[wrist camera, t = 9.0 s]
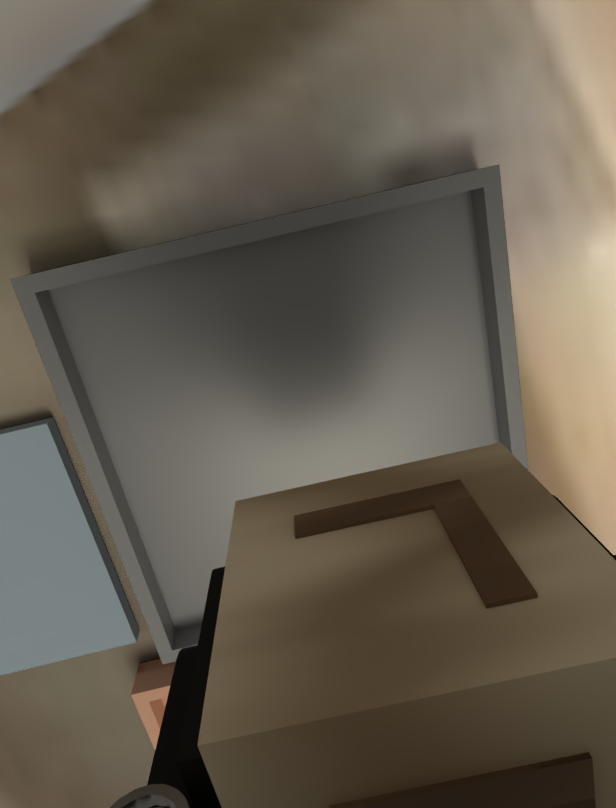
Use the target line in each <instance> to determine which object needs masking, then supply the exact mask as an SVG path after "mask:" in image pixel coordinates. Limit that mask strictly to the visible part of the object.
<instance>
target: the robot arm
mask: <svg viewBox="0 0 616 808" xmlns="http://www.w3.org/2000/svg"><path fill="white" fill-rule="evenodd" d="M552 496H553V497H554V498H555V499H556V500H557V501H558V502H559V503H560V504H561V505H562V506H563V507H564V508H565V509H566V510H567V511H568V512H569V513H570V514H571V515H572V516H573V517H574V518H575V519H576V520H577V521H578V522H579V523H580V524H581V525H582V526H583V527H584V528H585V529H586V531H587V532H588V533H589V534H590V535H591V536H592V537H593V538H594V539H595V540H596V541H597V542H598V543H599V544H600V545H601V546H602V547H603V548H604V549H605V550H606V551H607V552H608V553H609V554H610V555H611V556H612V557H613V558H614V559H615V560H616V555H613V554H612V553H611V552H610V551H609V550H608V549H607V548H606V547H605V546H604V545H603V544H602V543H601V542H600V541H599V540H598V539H597V538H596V537H595V536H594V535H593V534H592V533H591V532H590V531H589V530H588V529H587V528H586V527H585V526H584V525H583V524H582V523H581V522H580V521H579V520H578V519H577V518H576V517H575V516H574V515H573V514H572V513H571V512H570V511H569V510H568V509H567V507H566V506H565V505H564V504H563V503H562V502H561V501H560V500H559V499H558V498H557V497H555V496H554V495H552ZM224 571H225V567H220V568H216V569H213V570H212V573H211V578H210V583H209V588H208V594H207V599H206V604H205V610H204V615H203V620H202V625H201V631H200V636H199V641H198V645H196V646H191V647H186V648H182V649H181V650H180V651H179V653H178V656H177V659H176V663H175V668H174V672H173V676H172V681H171V685H170V689H169V694H168V698H167V702H166V707H165V711H164V715H163V720H162V724H161V728H160V732H159V737H158V741H157V745H156V750H155V754H154V758H153V763H152V767H151V771H150V776H149V780H148V784H147V786H144V787H140V788H137V789H135V790H133V791H131V792H130V793H128V794H126V795H125V796H123V797H121V798H120V799H118V800H117V801H116V802H115V803H114V804H113V805H112V806H111V807H110V808H222V807H221V805H220V802H219V799H218V797H217V794H216V792H215V789H214V787H213V784H212V782H211V779H210V776H209V774H208V771H207V769H206V766H205V764H204V761H203V758H202V756H201V753H200V751H199V748H198V746H197V745H198V738H199V732H200V726H201V719H202V713H203V706H204V700H205V693H206V687H207V681H208V674H209V668H210V661H211V655H212V648H213V642H214V636H215V629H216V623H217V616H218V610H219V603H220V597H221V591H222V584H223V578H224Z"/></svg>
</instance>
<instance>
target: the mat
mask: <svg viewBox="0 0 616 808" xmlns="http://www.w3.org/2000/svg"><path fill="white" fill-rule="evenodd" d="M139 632H140V630H139V628H138V625H137V623H136V621H135V618H134V616H133V613H132V611H131V608H130V606H129V603H128V601H127V598H126V596H125V593H124V591H123V588H122V586H121V583H120V581H119V578H118V576H117V573H116V571H115V569H114V566H113V564H112V561H111V559H110V556H109V554H108V551H107V549H106V546H105V544H104V541H103V539H102V536H101V534H100V531H99V529H98V526H97V524H96V521H95V519H94V517H93V514H92V512H91V509H90V507H89V504H88V502H87V499H86V497H85V494H84V492H83V489H82V487H81V484H80V482H79V479H78V477H77V474H76V472H75V469H74V467H73V465H72V462H71V460H70V457H69V455H68V452H67V450H66V447H65V445H64V442H63V440H62V437H61V435H60V432H59V430H58V427H57V425H56V422H55V420H54V417H51V418H47V419H43V420H39V421H35V422H30V423H26V424H22V425H18V426H14V427H9V428H5V429H1V430H0V675H4V674H8V673H12V672H16V671H20V670H24V669H29V668H33V667H37V666H41V665H45V664H49V663H53V662H57V661H61V660H66V659H70V658H74V657H78V656H82V655H86V654H90V653H94V652H98V651H103V650H107V649H111V648H115V647H119V646H123V645H127V644H131V643H135V642H137V639H138V635H139Z"/></svg>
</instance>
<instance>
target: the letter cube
mask: <svg viewBox="0 0 616 808" xmlns="http://www.w3.org/2000/svg"><path fill="white" fill-rule="evenodd" d="M197 746H198V748H199V751H200V753H201V756H202V758H203V761H204V764H205V766H206V769H207V771H208V774H209V776H210V779H211V782H212V784H213V787H214V789H215V792H216V794H217V797H218V799H219V802H220V805H221V807H222V808H616V560H615V559H614V558H613V557H612V556H611V555H610V554H609V553H608V552H607V551H606V550H605V549H604V548H603V547H602V546H601V545H600V544H599V543H598V542H597V541H596V540H595V539H594V538H593V537H592V536H591V535H590V534H589V533H588V532H587V531H586V529H585V528H584V527H583V526H582V525H581V524H580V523H579V522H578V521H577V520H576V519H575V518H574V517H573V516H572V515H571V514H570V513H569V512H568V511H567V510H566V509H565V508H564V507H563V506H562V505H561V504H560V503H559V502H558V501H557V500H556V499H555V498H554V497H553V496H552V494H551V493H550V492H549V491H548V490H547V489H546V488H545V487H544V486H543V485H542V484H541V483H540V482H539V481H538V480H537V479H536V478H535V477H534V476H533V475H532V474H531V473H530V472H529V471H528V470H527V469H526V468H525V467H524V466H523V465H522V464H521V463H520V462H519V460H518V459H517V458H516V457H515V456H514V455H513V454H512V453H511V452H510V451H509V450H508V449H507V448H506V447H505V446H504V445H503V444H502V443H501V442H500V443H495V444H491V445H486V446H482V447H477V448H473V449H468V450H464V451H459V452H455V453H450V454H446V455H441V456H437V457H432V458H428V459H423V460H419V461H414V462H410V463H405V464H401V465H396V466H392V467H387V468H382V469H378V470H373V471H369V472H364V473H360V474H355V475H351V476H346V477H342V478H337V479H333V480H328V481H324V482H319V483H315V484H310V485H306V486H301V487H297V488H292V489H288V490H283V491H279V492H274V493H270V494H265V495H261V496H256V497H252V498H247V499H243V500H238V501H235V507H234V513H233V520H232V526H231V533H230V539H229V546H228V552H227V558H226V565H225V571H224V578H223V584H222V591H221V597H220V603H219V610H218V616H217V623H216V629H215V636H214V642H213V648H212V655H211V661H210V668H209V674H208V681H207V687H206V693H205V700H204V706H203V713H202V719H201V726H200V732H199V738H198V745H197Z"/></svg>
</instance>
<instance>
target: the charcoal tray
mask: <svg viewBox="0 0 616 808" xmlns="http://www.w3.org/2000/svg"><path fill="white" fill-rule="evenodd" d="M10 280H11V283H12V285H13V288H14V290H15V293H16V295H17V298H18V300H19V303H20V305H21V308H22V310H23V313H24V315H25V318H26V320H27V323H28V325H29V328H30V331H31V333H32V336H33V338H34V341H35V343H36V346H37V348H38V351H39V353H40V356H41V358H42V361H43V363H44V366H45V368H46V371H47V373H48V376H49V378H50V381H51V384H52V386H53V389H54V391H55V394H56V396H57V399H58V401H59V404H60V406H61V409H62V411H63V414H64V416H65V419H66V421H67V424H68V426H69V429H70V431H71V434H72V437H73V439H74V442H75V444H76V447H77V449H78V452H79V454H80V457H81V459H82V462H83V464H84V467H85V469H86V472H87V474H88V477H89V479H90V482H91V484H92V487H93V490H94V492H95V495H96V497H97V500H98V502H99V505H100V507H101V510H102V512H103V515H104V517H105V520H106V522H107V525H108V527H109V530H110V532H111V535H112V537H113V540H114V542H115V545H116V548H117V550H118V553H119V555H120V558H121V560H122V563H123V565H124V568H125V570H126V573H127V575H128V578H129V580H130V583H131V585H132V588H133V590H134V593H135V595H136V598H137V601H138V603H139V606H140V608H141V611H142V613H143V616H144V618H145V621H146V623H147V626H148V628H149V631H150V633H151V636H152V638H153V641H154V643H155V646H156V648H157V651H158V654H159V656H160V659H161V661H162V664H167V663H171V662H175V661H176V659H177V656H178V653H179V651H180V650H181V649H182V648H186V647H191V646H196V645H198V641H199V636H200V631H201V625H202V620H203V615H204V610H205V604H206V599H207V594H208V588H209V583H210V578H211V573H212V570H213V569H216V568H220V567H225V565H226V558H227V552H228V546H229V539H230V533H231V526H232V520H233V513H234V507H235V501H238V500H243V499H247V498H252V497H256V496H261V495H265V494H270V493H274V492H279V491H283V490H288V489H292V488H297V487H301V486H306V485H310V484H315V483H319V482H324V481H328V480H333V479H337V478H342V477H346V476H351V475H355V474H360V473H364V472H369V471H373V470H378V469H382V468H387V467H392V466H396V465H401V464H405V463H410V462H414V461H419V460H423V459H428V458H432V457H437V456H441V455H446V454H450V453H455V452H459V451H464V450H468V449H473V448H477V447H482V446H486V445H491V444H495V443H500V442H501V443H502V444H503V445H504V446H505V447H506V448H507V449H508V450H509V451H510V452H511V453H512V454H513V455H514V456H515V457H516V458H517V459H518V460H519V462H520V463H521V464H522V465H523V466H524V467H525V468H526V469H527V470H528V462H527V452H526V441H525V431H524V420H523V410H522V399H521V389H520V378H519V368H518V357H517V347H516V336H515V326H514V315H513V305H512V294H511V284H510V273H509V263H508V252H507V242H506V231H505V221H504V210H503V200H502V189H501V179H500V168H499V165H495V166H490V167H485V168H481V169H476V170H472V171H468V172H464V173H459V174H455V175H451V176H447V177H442V178H438V179H434V180H430V181H425V182H421V183H417V184H412V185H408V186H404V187H400V188H395V189H391V190H387V191H383V192H378V193H374V194H370V195H366V196H361V197H357V198H353V199H349V200H344V201H340V202H336V203H331V204H327V205H323V206H319V207H314V208H310V209H306V210H302V211H297V212H293V213H289V214H285V215H280V216H276V217H272V218H268V219H263V220H259V221H255V222H251V223H246V224H242V225H238V226H233V227H229V228H225V229H221V230H216V231H212V232H208V233H204V234H199V235H195V236H191V237H187V238H182V239H178V240H174V241H170V242H165V243H161V244H157V245H153V246H148V247H144V248H140V249H135V250H131V251H127V252H123V253H118V254H114V255H110V256H106V257H101V258H97V259H93V260H89V261H84V262H80V263H76V264H72V265H67V266H63V267H59V268H55V269H50V270H46V271H42V272H37V273H33V274H29V275H25V276H21V277H17V278H13V279H10Z"/></svg>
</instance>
